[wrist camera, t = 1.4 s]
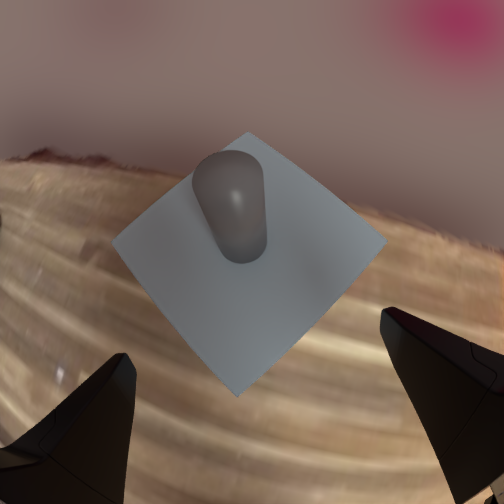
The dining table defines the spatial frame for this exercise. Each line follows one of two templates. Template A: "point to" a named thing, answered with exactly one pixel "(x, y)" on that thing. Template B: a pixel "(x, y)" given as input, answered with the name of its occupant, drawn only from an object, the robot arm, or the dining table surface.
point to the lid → (246, 257)
